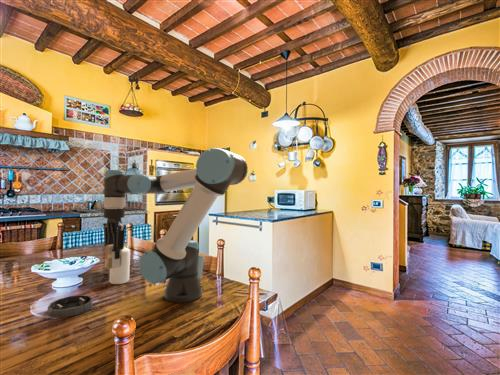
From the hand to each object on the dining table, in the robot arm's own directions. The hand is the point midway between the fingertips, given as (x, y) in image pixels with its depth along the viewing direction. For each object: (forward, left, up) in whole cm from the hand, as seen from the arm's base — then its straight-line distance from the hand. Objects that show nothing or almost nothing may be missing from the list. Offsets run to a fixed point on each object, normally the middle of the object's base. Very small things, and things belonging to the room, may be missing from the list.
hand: (113, 266), depth 104 cm
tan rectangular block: (0, 0, 0) cm, 0 cm away
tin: (+1, +14, -13) cm, 19 cm away
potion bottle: (+15, -11, -13) cm, 23 cm away
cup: (-9, -37, -13) cm, 40 cm away
